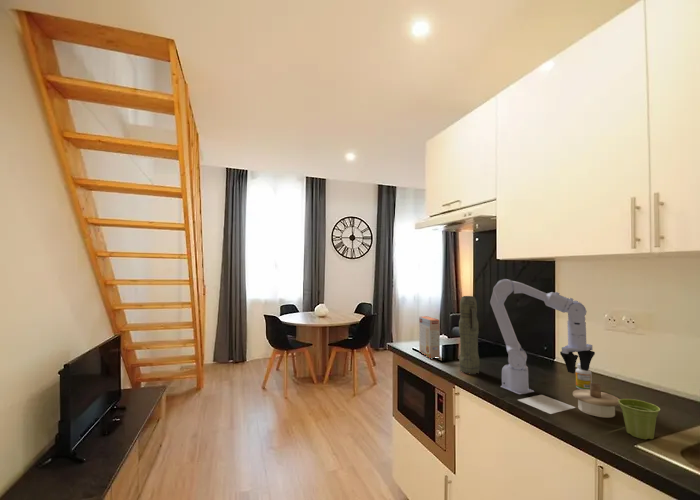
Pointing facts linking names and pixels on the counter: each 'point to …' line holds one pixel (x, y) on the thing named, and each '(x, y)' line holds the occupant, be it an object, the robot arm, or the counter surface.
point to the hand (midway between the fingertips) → (578, 371)
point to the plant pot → (639, 417)
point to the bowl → (596, 409)
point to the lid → (596, 396)
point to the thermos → (468, 335)
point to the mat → (546, 404)
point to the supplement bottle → (583, 378)
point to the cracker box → (429, 337)
